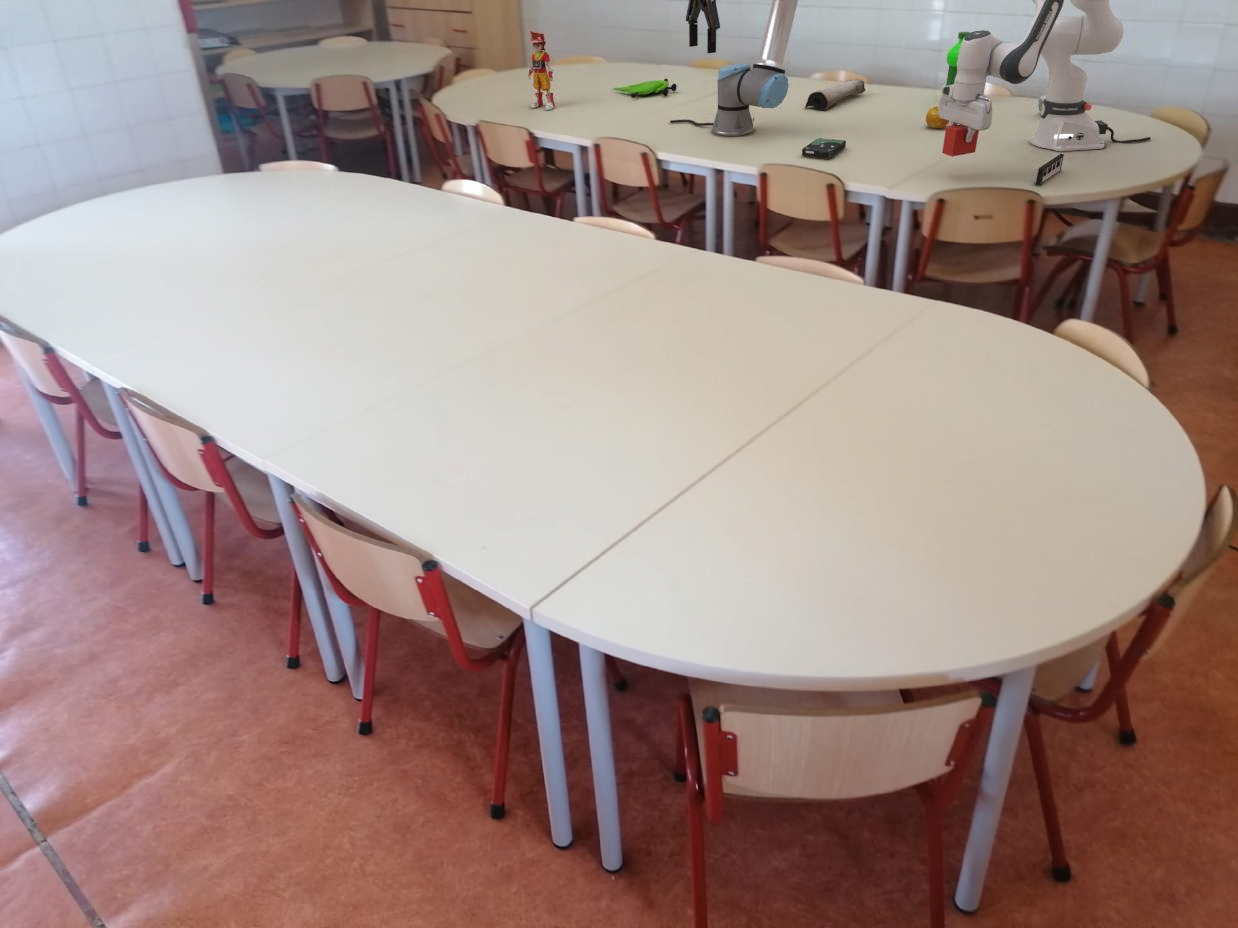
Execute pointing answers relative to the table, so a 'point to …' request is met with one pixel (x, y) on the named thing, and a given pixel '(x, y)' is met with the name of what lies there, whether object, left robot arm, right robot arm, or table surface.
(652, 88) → the toy
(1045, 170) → the midi keyboard
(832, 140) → the disk drive
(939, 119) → the fruit
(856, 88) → the rolled mat
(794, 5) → the left robot arm
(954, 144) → the block
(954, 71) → the plastic bottle
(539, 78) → the toy
